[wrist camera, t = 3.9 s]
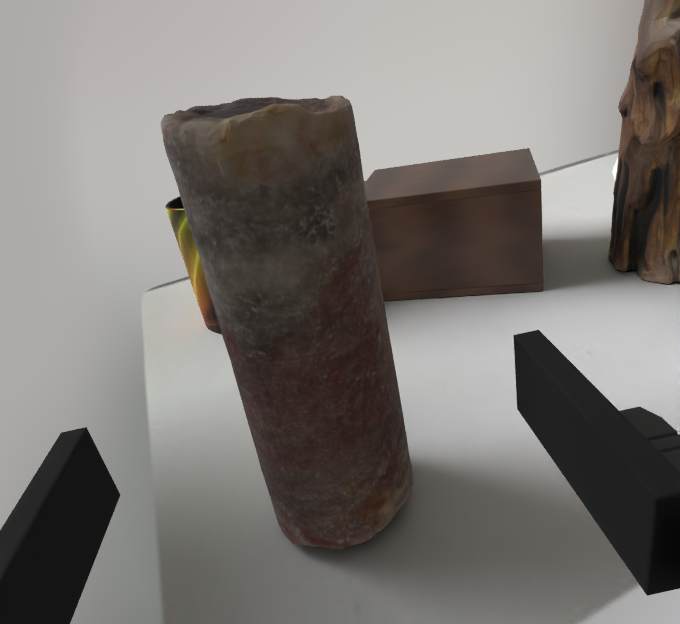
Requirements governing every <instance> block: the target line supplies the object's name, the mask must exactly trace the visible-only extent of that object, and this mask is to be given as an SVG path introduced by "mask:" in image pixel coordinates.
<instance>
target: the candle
mask: <svg viewBox="0 0 680 624" xmlns="http://www.w3.org/2000/svg"><path fill="white" fill-rule="evenodd" d="M161 128H162V134H163V141H164V145H165V149H166V153H167V156H168V159H169V162H170V165H171V168H172V170H173V173H174V176H175V179H176V182H177V185H178V189H179V192H180V197H181V201H182V204H183V207H184V210H185V213H186V217H187V220H188V224H189V227H190V230H191V233H192V236H193V239H194V241H195V244H196V247H197V250H198V253H199V256H200V259H201V263H202V267H203V272H204V276H205V279H206V283H207V286H208V289H209V292H210V296H211V299H212V302H213V305H214V309H215V313H216V316H217V319H218V322H219V325H220V328H221V332H222V335H223V339H224V342H225V345H226V348H227V351H228V354H229V357H230V360H231V363H232V367H233V371H234V375H235V378H236V381H237V385H238V388H239V392H240V396H241V399H242V403H243V406H244V410H245V413H246V417H247V420H248V424H249V427H250V431H251V434H252V437H253V441H254V444H255V448H256V451H257V454H258V458H259V462H260V466H261V470H262V473H263V476H264V478H265V482H266V485H267V488H268V491H269V494H270V497H271V501H272V504H273V508H274V511H275V514H276V517H277V520H278V523H279V525H280V527H281V529H282V532H283V533H284V534H285V536H286V537H287V538H288V539H289V540H290V541H291V542H293V543H294V544H298V545H310V546H312V547H323V548H330V549H346V548H349V547H351V546H353V545H357V544H361V543H364V542H366V541H368V540H370V539H371V538H372V536H373V535H374V534H376V533H378V532H380V531H382V530H383V529H384V528H385V527H386V526H387V525H388V524H389V523H390V522H391V520H392V518H393V517H394V515H395V514H396V512H397V511H398V510H399V509H400V508H401V507H402V505H403V504H404V502H405V501H406V499H407V497H408V494H409V493H410V491H411V488H412V485H413V476H412V469H411V462H410V457H409V451H408V444H407V437H406V431H405V426H404V418H403V412H402V407H401V401H400V395H399V389H398V383H397V377H396V371H395V366H394V360H393V354H392V348H391V342H390V337H389V331H388V325H387V318H386V312H385V306H384V300H383V295H382V290H381V283H380V276H379V269H378V263H377V256H376V251H375V245H374V239H373V233H372V226H371V219H370V214H369V209H368V204H367V198H366V193H365V186H364V180H363V173H362V165H361V159H360V150H359V143H358V138H357V133H356V127H355V121H354V115H353V110H352V106H351V103H350V101H349V100H348V99H345V98H344V97H343V96H331V97H329V98H327V99H317V98H312V99H299V100H289V99H281V98H273V97H270V98H246V99H240V100H236V101H233V102H232V103H225V104H220V105H215V106H195V107H192V108H190V109H188V110H186V111H181V110H179V111H176V112H175V113H174V114H167V115H165V116H164V117H163V119H162V121H161Z"/></svg>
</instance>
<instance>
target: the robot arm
mask: <svg viewBox="0 0 680 624" xmlns="http://www.w3.org/2000/svg"><path fill="white" fill-rule="evenodd" d="M514 350H515V371H516V391H517V409H518V410H519V412H520V413H521V415H522V416H523V418H524V419H525V421H526V422H527V423H528V425H529V426H530V428H531V429H532V431H533V432H534V433H535V435H536V436H537V438H538V439H539V441H540V442H541V444H542V445H543V446H544V448H545V449H546V451H547V452H548V454H549V455H550V457H551V458H552V459H553V461H554V462H555V464H556V465H557V467H558V468H559V469H560V471H561V472H562V474H563V475H564V477H565V478H566V480H567V481H568V482H569V484H570V485H571V487H572V488H573V490H574V491H575V492H576V494H577V495H578V497H579V498H580V500H581V501H582V503H583V504H584V505H585V507H586V508H587V510H588V511H589V513H590V514H591V515H592V517H593V518H594V520H595V521H596V523H597V524H598V526H599V527H600V528H601V530H602V531H603V533H604V534H605V536H606V537H607V538H608V540H609V541H610V543H611V544H612V546H613V547H614V549H615V550H616V551H617V553H618V554H619V556H620V557H621V559H622V560H623V561H624V563H625V564H626V566H627V567H628V569H629V570H630V572H631V573H632V574H633V576H634V577H635V579H636V580H637V582H638V583H639V585H640V586H641V587H642V589H643V590H644V592H645V593H646V594H647V595H651V594H655V593H660V592H665V591H669V590H674V589H679V588H680V435H678V434H677V431H676V430H675V429H673V428H672V427H671V426H670V425H669V424H668V423H667V422H666V421H665V420H664V419H663V418H661V417H660V416H657V415H655V414H653V413H651V412H649V411H647V410H645V409H643V408H641V407H636V408H631V409H627V410H622V411H618V410H617V409H616V408H615V406H614V405H613V404H612V403H611V402H610V401H609V400H608V399H607V398H606V397H605V396H604V395H603V394H602V393H601V392H600V391H599V390H598V389H597V388H596V387H595V386H594V385H593V384H592V383H591V382H590V381H589V380H588V379H587V378H586V377H585V376H584V375H583V374H582V373H581V372H580V371H579V370H578V369H577V368H576V367H575V366H574V365H573V364H572V363H571V362H570V361H569V360H568V359H567V358H566V357H565V356H564V355H563V354H562V353H561V352H560V351H559V350H558V349H557V348H556V347H555V346H554V345H553V344H552V343H551V342H550V341H549V340H548V339H547V338H546V337H545V336H544V335H543V334H542V333H541V332H540V331H539V330H536V331H531V332H527V333H522V334H517V335H514ZM119 497H120V494H119V492H118V489H117V487H116V485H115V484H114V481H113V480H112V477H111V475H110V474H109V471H108V469H107V467H106V465H105V464H104V461H103V460H102V458H101V456H100V454H99V451H98V450H97V447H96V445H95V443H94V442H93V440H92V437H91V436H90V433H89V432H88V430H87V428H81V429H76V430H72V431H67V432H62V433H61V434H60V436H59V437H58V439H57V441H56V442H55V444H54V445H53V447H52V448H51V450H50V452H49V453H48V455H47V456H46V458H45V460H44V461H43V463H42V465H41V466H40V468H39V469H38V471H37V473H36V474H35V476H34V477H33V479H32V480H31V482H30V484H29V485H28V487H27V489H26V490H25V492H24V493H23V495H22V497H21V498H20V500H19V501H18V503H17V505H16V506H15V508H14V510H13V511H12V513H11V514H10V516H9V517H8V519H7V521H6V522H5V524H4V525H3V527H2V529H1V530H0V624H70V622H71V619H72V617H73V614H74V612H75V609H76V607H77V604H78V602H79V599H80V597H81V594H82V591H83V589H84V586H85V583H86V581H87V579H88V576H89V573H90V571H91V568H92V566H93V563H94V560H95V558H96V556H97V553H98V550H99V548H100V545H101V543H102V540H103V538H104V535H105V532H106V530H107V527H108V525H109V522H110V520H111V517H112V515H113V512H114V509H115V507H116V504H117V502H118V499H119Z"/></svg>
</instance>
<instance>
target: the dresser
mask: <svg viewBox="0 0 680 624" xmlns="http://www.w3.org/2000/svg"><path fill="white" fill-rule="evenodd" d="M364 186H365V193H366V198H367V204H368V209H369V214H370V219H371V226H372V233H373V239H374V245H375V251H376V256H377V263H378V269H379V276H380V283H381V290H382V295H383V300H384V301H391V300H407V299H423V298H439V297H455V296H471V295H486V294H502V293H518V292H534V291H543V254H542V202H541V179H540V176H539V173H538V171H537V168H536V165H535V163H534V160H533V157H532V155H531V152H530V149H529V148H528V149H520V150H514V151H506V152H499V153H492V154H485V155H478V156H472V157H464V158H457V159H450V160H443V161H436V162H429V163H422V164H414V165H408V166H401V167H394V168H386V169H379V170H375V171H374V172H373V173H372V175H371V176H370V177H369V178H368V180H367V181H366V182H365V183H364Z"/></svg>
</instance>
